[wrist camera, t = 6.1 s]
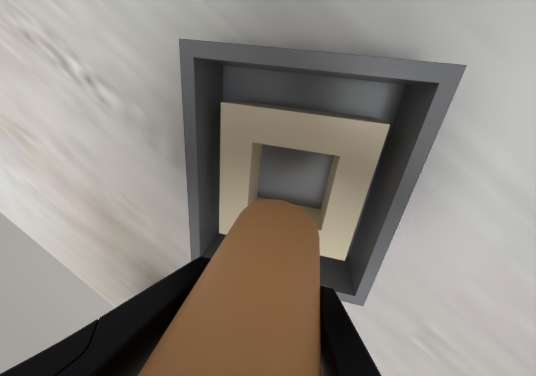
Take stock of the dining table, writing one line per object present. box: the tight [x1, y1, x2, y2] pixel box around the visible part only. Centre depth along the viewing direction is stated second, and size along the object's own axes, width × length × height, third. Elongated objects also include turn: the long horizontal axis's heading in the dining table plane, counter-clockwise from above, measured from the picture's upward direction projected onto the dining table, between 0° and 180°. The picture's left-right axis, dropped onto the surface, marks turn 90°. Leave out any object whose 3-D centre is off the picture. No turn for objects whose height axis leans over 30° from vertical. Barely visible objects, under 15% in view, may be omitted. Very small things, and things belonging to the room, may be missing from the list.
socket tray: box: [179, 39, 467, 306], centre depth 16 cm, size 14×16×5 cm
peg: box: [137, 199, 321, 376], centre depth 6 cm, size 4×4×9 cm
